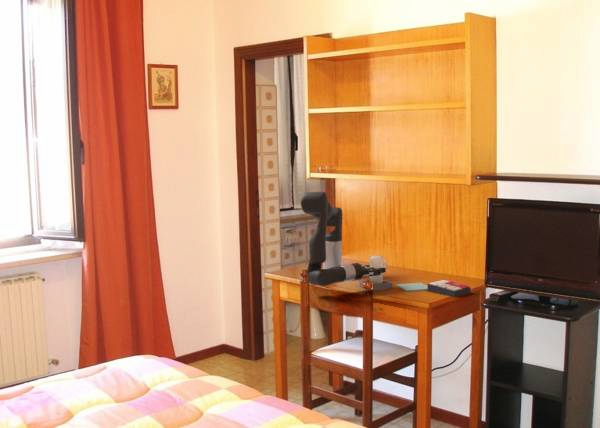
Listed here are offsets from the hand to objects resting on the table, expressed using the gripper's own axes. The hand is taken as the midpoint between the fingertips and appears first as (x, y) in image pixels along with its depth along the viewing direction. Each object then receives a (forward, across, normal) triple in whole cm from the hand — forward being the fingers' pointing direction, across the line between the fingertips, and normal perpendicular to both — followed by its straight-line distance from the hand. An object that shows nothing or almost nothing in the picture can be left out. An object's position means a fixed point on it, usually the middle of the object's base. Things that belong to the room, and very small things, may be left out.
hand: (379, 268), depth 308 cm
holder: (-2, 0, +8) cm, 9 cm away
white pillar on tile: (-1, 0, +9) cm, 9 cm away
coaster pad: (+12, -10, +8) cm, 18 cm away
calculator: (+18, -25, +9) cm, 32 cm away
